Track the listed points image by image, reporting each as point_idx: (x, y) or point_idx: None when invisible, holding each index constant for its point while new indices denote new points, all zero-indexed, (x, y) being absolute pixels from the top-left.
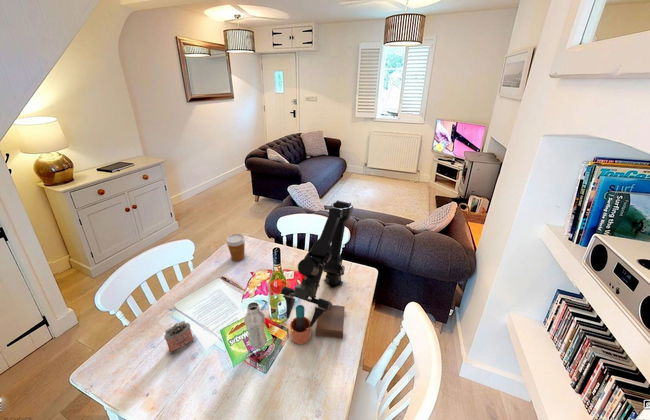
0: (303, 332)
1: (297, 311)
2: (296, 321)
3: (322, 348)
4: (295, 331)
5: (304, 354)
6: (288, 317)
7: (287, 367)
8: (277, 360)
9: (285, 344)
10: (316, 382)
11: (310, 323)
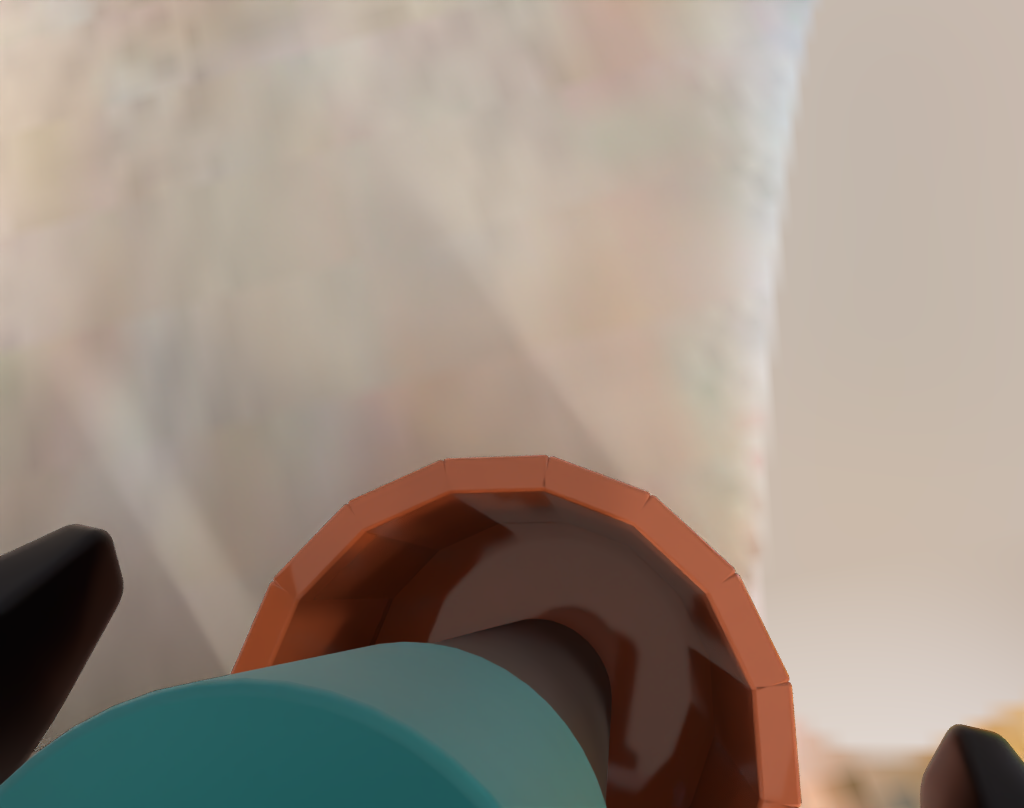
0: (355, 502)
1: (365, 691)
2: (592, 713)
3: (115, 510)
4: (560, 482)
5: (376, 339)
6: (930, 803)
7: (567, 87)
8: (759, 141)
9: (749, 435)
10: (138, 19)
11: (15, 589)
